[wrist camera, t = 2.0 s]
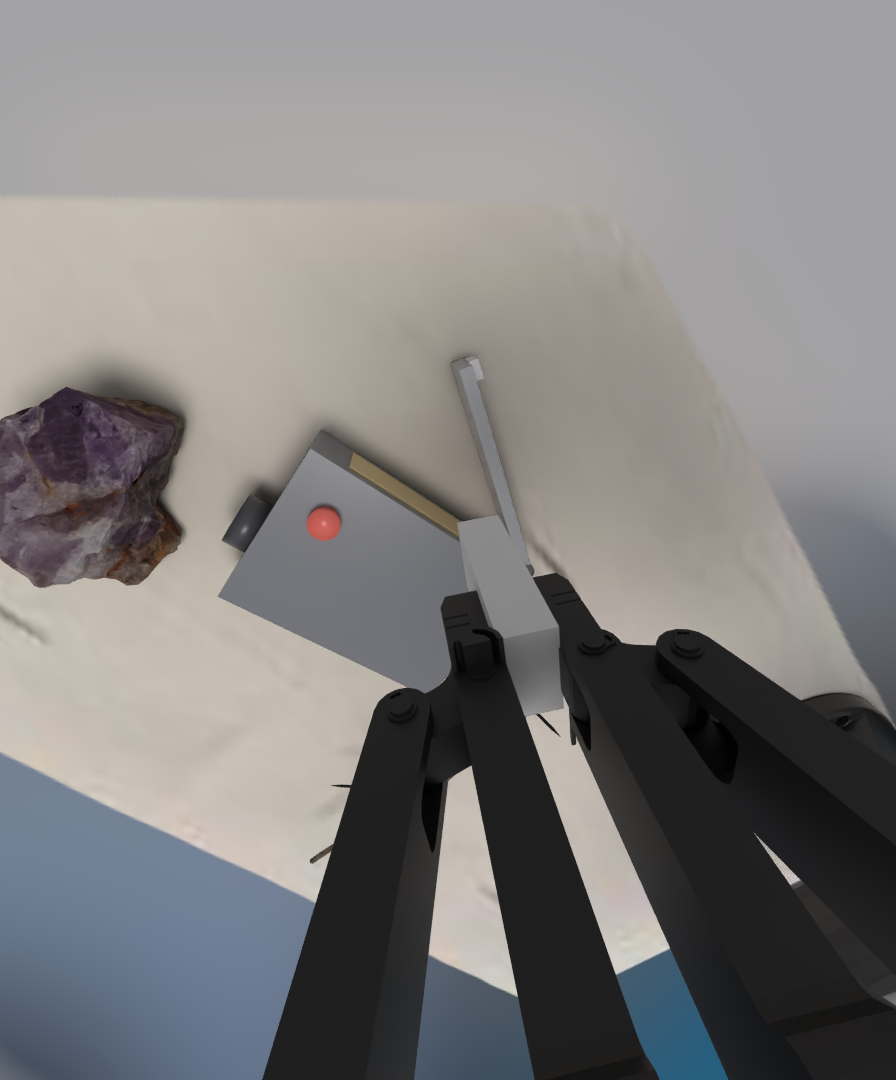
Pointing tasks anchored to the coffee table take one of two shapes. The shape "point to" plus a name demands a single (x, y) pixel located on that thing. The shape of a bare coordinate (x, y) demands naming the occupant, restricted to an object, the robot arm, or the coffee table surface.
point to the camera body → (352, 564)
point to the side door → (488, 449)
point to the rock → (86, 488)
